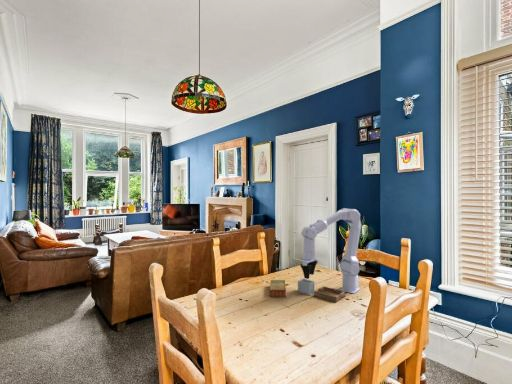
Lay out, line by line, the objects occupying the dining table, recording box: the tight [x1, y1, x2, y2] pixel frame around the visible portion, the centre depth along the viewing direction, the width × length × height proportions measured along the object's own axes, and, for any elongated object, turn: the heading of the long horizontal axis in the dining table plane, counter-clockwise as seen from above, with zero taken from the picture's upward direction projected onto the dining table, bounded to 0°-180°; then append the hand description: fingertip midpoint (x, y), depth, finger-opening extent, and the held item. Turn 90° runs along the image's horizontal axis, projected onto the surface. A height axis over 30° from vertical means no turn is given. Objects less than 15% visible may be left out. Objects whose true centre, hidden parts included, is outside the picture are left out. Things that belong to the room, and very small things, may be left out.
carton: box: [269, 279, 287, 298], centre depth 146 cm, size 8×16×4 cm, turn 175°
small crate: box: [297, 278, 315, 296], centre depth 144 cm, size 5×7×6 cm
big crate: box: [313, 286, 346, 303], centre depth 139 cm, size 10×12×2 cm
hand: (309, 276), depth 141 cm, fingers open, 7 cm apart
